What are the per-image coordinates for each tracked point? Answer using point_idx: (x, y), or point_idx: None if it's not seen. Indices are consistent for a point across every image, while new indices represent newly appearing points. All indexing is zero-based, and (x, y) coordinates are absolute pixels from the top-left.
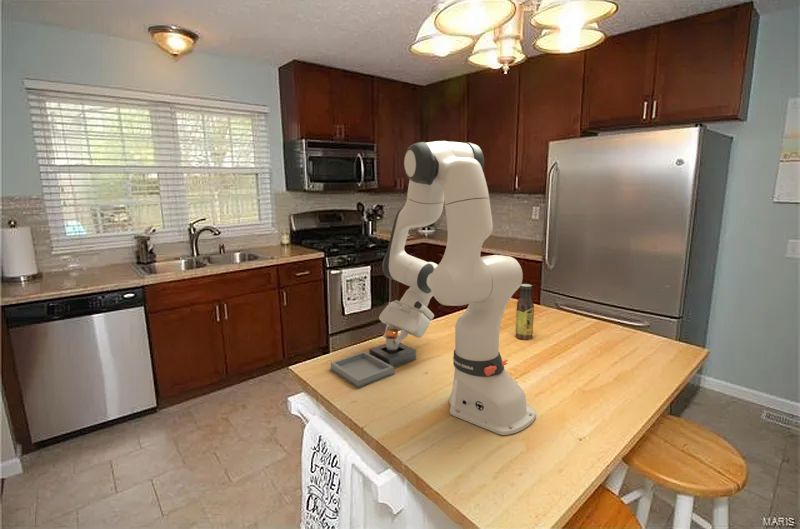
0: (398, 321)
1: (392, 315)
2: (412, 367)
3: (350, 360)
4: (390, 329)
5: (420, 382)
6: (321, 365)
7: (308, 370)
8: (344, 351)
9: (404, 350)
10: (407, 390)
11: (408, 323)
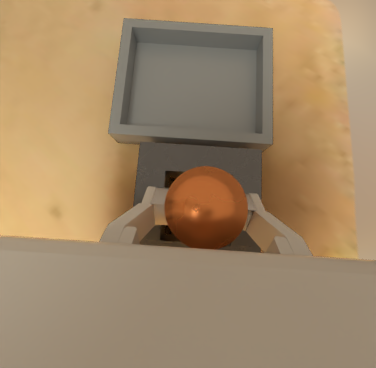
0: (199, 294)
1: (373, 361)
2: (109, 209)
3: (258, 92)
4: (231, 217)
5: (33, 161)
6: (302, 48)
7: (298, 14)
8: (344, 139)
9: (154, 231)
10: (34, 111)
11: (27, 307)
